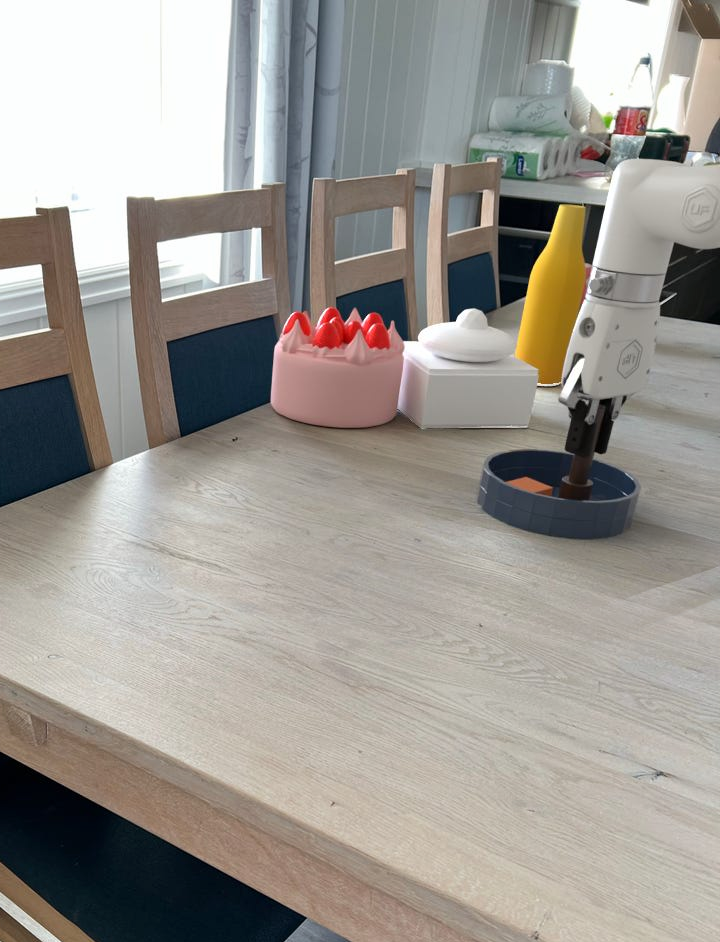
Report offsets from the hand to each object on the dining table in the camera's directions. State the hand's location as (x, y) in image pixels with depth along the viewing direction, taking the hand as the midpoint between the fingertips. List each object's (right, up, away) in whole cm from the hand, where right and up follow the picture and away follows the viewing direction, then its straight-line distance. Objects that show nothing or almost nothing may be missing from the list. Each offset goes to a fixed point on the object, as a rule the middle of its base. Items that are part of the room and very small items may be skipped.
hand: (585, 451), depth 113 cm
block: (-7, -7, +2) cm, 10 cm away
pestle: (0, -6, +3) cm, 7 cm away
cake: (-26, +13, +38) cm, 48 cm away
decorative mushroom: (+31, +44, +98) cm, 112 cm away
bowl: (-2, -7, +5) cm, 9 cm away
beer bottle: (+13, +24, +62) cm, 68 cm away
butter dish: (-7, +14, +41) cm, 44 cm away
